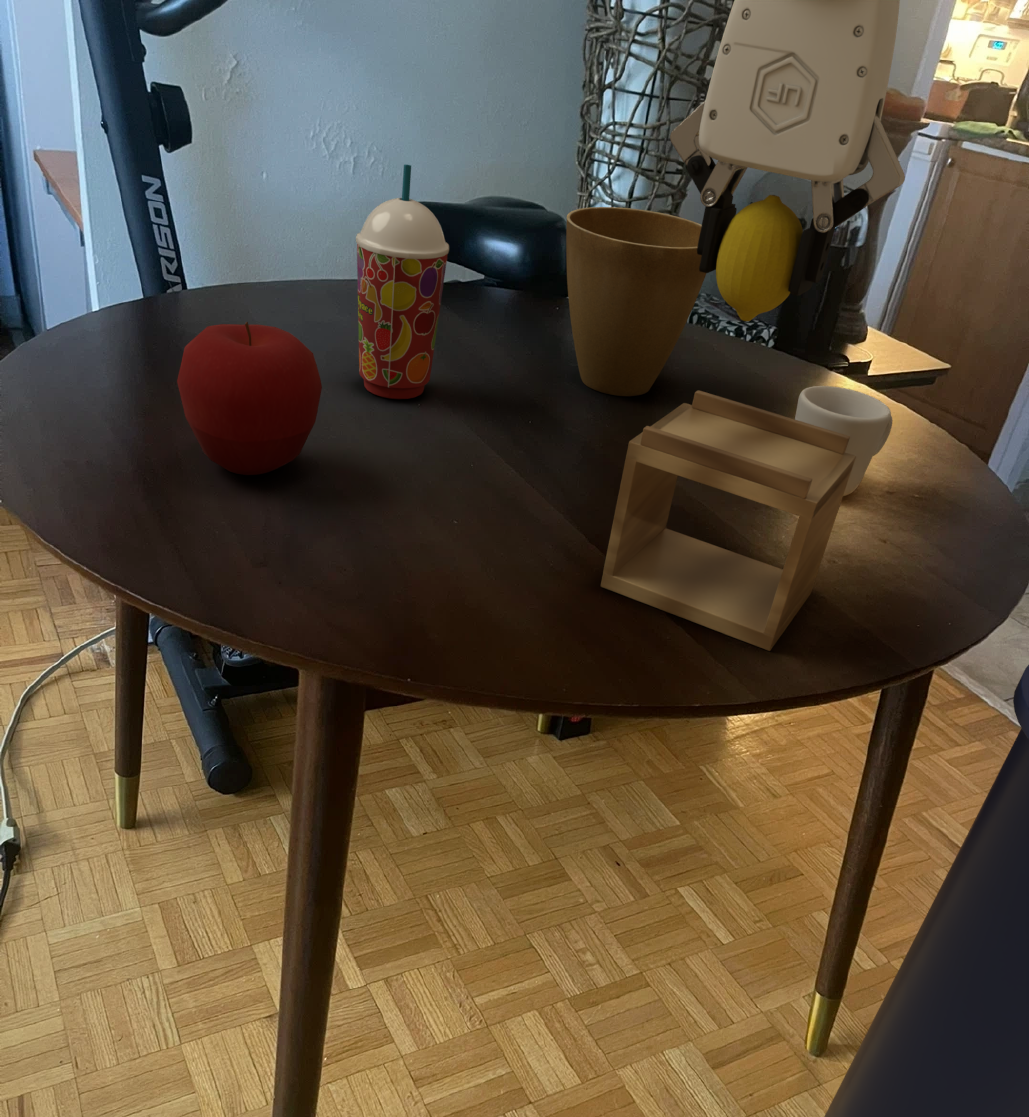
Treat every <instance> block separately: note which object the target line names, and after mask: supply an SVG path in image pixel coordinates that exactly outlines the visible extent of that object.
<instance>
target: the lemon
mask: <svg viewBox="0 0 1029 1117" xmlns="http://www.w3.org/2000/svg"><path fill="white" fill-rule="evenodd" d="M803 231H804V229H803V227H802V223H801V221H800V219H799V217H798V216H797V214H796V213H795V212H794V211H793V210H792V208H790V207H789V206H787V205H786V204H785V203H783V201H782V199H781V197H780V196H779V195H776V194H769V195H767V196H766V197H765V198H764V199H762V200H761V199H760V200H757V201H754V202H751V203H750V204H748V205H746V206H745V207H743V208H742V209H740V210H739V211H738V212H736V215H735V216H734V218H733V219H732V220H731V222H730V223H729V225H728V227H727V229H726V231H725V233H724V235H723V238H722V240H721V243H720V246H719V250H718V254H717V260H716V270H715V278H716V284H717V285H716V286H717V289H718V291H719V293H720V296H721V298H722V299H723V300H724V301H725V302H726V304H727V305H729V306H730V307H731V308H732V309H734V310H735V312H736V314H737V315H738V317H739V319H740V320H741V321H743V322H751V321H752V320H753V319H755V318H756V317H757V316H758V315H761V314H763V313H767V312H771V311H772V310H774V309H776V308H777V307H778V306H780V305H781V304H782V303H783V302H784V301H786V299H788V297H789V296H790V295H791V294H790V292H789V291H788V288H789V284H790V280H791V276H792V272H793V268H794V264H795V260H796V256H797V252H798V248H799V244H800V240H801V236H802V233H803Z"/></svg>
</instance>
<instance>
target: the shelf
mask: <svg viewBox="0 0 1029 1117" xmlns="http://www.w3.org/2000/svg"><path fill="white" fill-rule="evenodd" d="M849 439H850V436H848V435H844V434H841V433H838V432H835V431H831V430H828V429H825V428H821V427H818V426H815V425H811V424H808V423H805V422H801V421H798V420H795V418H791V417H788V416H784V415H782V414H778V413H775V412H772V411H769V410H765V409H762V408H758V407H755V406H752V405H749V404H745V403H742V402H739V401H735V400H732V399H730V398H726V397H722V396H719V395H715V394H712V393H708V392H705V391H702V390H696V391H695V392H694V395H693V399H692V404H689V403H687V402H683V403H682V404H680V405H679V406H678V407H676V408H675V409H673V410H672V411H671V412H669V413H668V414H666V415H665V416H664V417H662V418H660V419H659V420H658V421H656V422H655V423H653V424H652V425H650V426H649V425H646V426H645V427H643V429H642V432H641V433H639V434H638V435H636V436H635V437H633V438H632V439H631V440H629V441H628V446H627V451H626V455H625V461H624V465H623V470H622V476H621V479H620V480H621V481H620V485H619V490H618V496H617V501H616V504H615V510H614V516H613V521H612V526H611V529H610V536H609V540H608V546H607V549H606V550H607V551H606V556H605V561H604V565H603V566H604V567H603V571H602V576H601V580H600V581H601V582H600V587H601V588H603V589H606V590H608V591H611V592H614V593H617V594H618V595H622V596H624V597H626V598H629V599H632V600H634V601H637V602H640V603H642V604H645V605H647V606H650V607H653V608H656V609H658V610H661V611H663V612H665V613H668V614H671V615H674V616H676V617H679V618H682V619H684V620H687V621H690V622H692V623H695V624H698V625H700V626H703V627H705V628H708V629H710V630H712V631H715V632H718V633H721V634H723V635H726V636H729V637H731V638H734V639H737V640H739V641H742V642H744V643H747V644H750V645H752V646H755V647H757V648H760V649H763V650H765V651H767V652H770V651H771V650H772V649H773V648H774V646H775V645H776V644H777V642H778V640H779V639H780V637H781V636H782V635H783V633H784V632H785V631H786V629H787V628H788V626H789V625H790V624H791V623H792V621H793V619H794V618H795V617H796V615H797V613H798V612H799V611H800V610H801V609H802V607H803V605H804V604H805V603H806V601H807V600H808V599H809V597H810V595H811V594H812V591H813V588H814V585H815V581H816V579H817V576H818V573H819V570H820V567H821V564H822V561H823V557H824V555H825V552H826V550H827V545H828V542H829V540H830V537H831V533H832V531H833V528H834V526H835V525H834V524H835V522H836V519H837V516H838V512H839V510H840V506H841V503H842V500H843V498H844V496H843V495H844V492H845V489H846V486H847V483H848V480H849V477H850V474H851V471H852V468H853V465H854V462H855V459H856V456H855V455H852V454H848V453H845V451H846V448H847V445H848V442H849ZM678 477H681V478H685V479H687V480H690V481H694V482H696V483H699V484H702V485H706V486H707V487H711V488H714V489H718V490H720V491H723V492H727V493H729V494H732V495H736V496H738V497H741V498H744V499H747V500H750V501H753V502H756V503H759V504H762V505H765V506H768V507H771V508H775V509H777V510H781V511H783V512H787V513H789V514H792V515H795V516H798V520H797V523H796V527H795V530H794V533H793V536H792V538H791V539H792V540H791V543H790V546H789V549H788V552H787V556H786V558H785V562H784V565H783V567H782V568H783V569H782V568H780V567H776V566H774V565H771V564H768V563H765V562H764V561H759V560H757V559H754V558H751V557H748V556H745V555H742V554H740V553H737V552H735V551H731V550H730V549H729V550H728V549H725V548H724V547H720V546H717V545H714V544H712V543H709V542H706V541H704V540H700V539H697V538H695V537H691V536H689V535H686V534H683V533H680V532H678V531H675V530H672V529H669V528H667V524H668V520H669V516H670V511H671V506H672V502H673V498H674V495H675V494H674V493H675V490H676V485H677V481H678Z"/></svg>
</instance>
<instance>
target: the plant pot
mask: <svg viewBox="0 0 1029 1117" xmlns="http://www.w3.org/2000/svg"><path fill="white" fill-rule="evenodd" d="M701 226H702V223H698V222H696V221H693V220H690V219H686V218H683V217H680V216H677V215H672V214H668V213H662V212H657V211H651V210H647V209H638V208H630V207H618V206H617V207H616V206H593V207H592V206H590V207H582V208H577V209H574V210H572V211H569V212H568V214H567V215H566V233H565V235H566V236H565V237H566V239H565V240H566V241H565V242H566V244H565V245H566V249H565V250H566V281H567V282H566V283H567V284H566V285H567V297H568V308H569V318H570V325H571V332H572V339H573V340H572V341H573V346H574V352H575V356H576V362H577V366H578V372H579V376H580V380H581V382H582V383H583V385H585V386H586V387H588V388H590V389H592V390H594V391H596V392H600V393H602V394H606V395H611V396H618V397H635V396H642V395H644V394H646V393H648V392H649V391H650V390H651V388H652V387H653V385H654V383H655V382H656V380H657V378H658V377H659V375H660V374H661V372H662V370H663V368H664V366H665V365H666V363H667V361H668V360H669V358H670V356H671V354H672V353H673V351H674V349H675V346H676V345H677V342H678V341H679V338H680V336H681V334H682V333H683V330H684V329H685V326H686V324H687V322H688V319H689V317H690V315H691V314H692V311H693V308H694V307H695V304H696V301H697V299H698V297H699V294H700V292H701V289H702V286H703V284H704V281H705V279H706V277H707V273H704V272H700V271H699V266H700V261H701V256H702V255H698V254H697V246H698V241H699V236H700V231H701Z"/></svg>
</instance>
